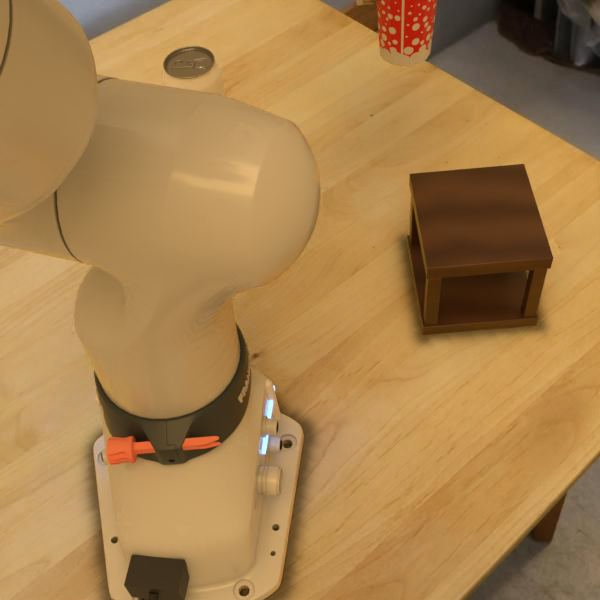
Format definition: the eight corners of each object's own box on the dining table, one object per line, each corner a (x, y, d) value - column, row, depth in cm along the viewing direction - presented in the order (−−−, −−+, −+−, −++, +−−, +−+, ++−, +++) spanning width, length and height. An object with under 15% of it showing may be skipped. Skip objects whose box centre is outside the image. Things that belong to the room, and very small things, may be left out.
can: (231, 163, 99) (216, 78, 90) (176, 165, 100) (155, 81, 90) (235, 126, 103) (220, 41, 94) (182, 128, 104) (162, 44, 94)
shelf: (536, 325, 82) (553, 257, 74) (422, 335, 82) (427, 268, 75) (511, 233, 90) (524, 163, 82) (406, 242, 90) (409, 173, 82)
